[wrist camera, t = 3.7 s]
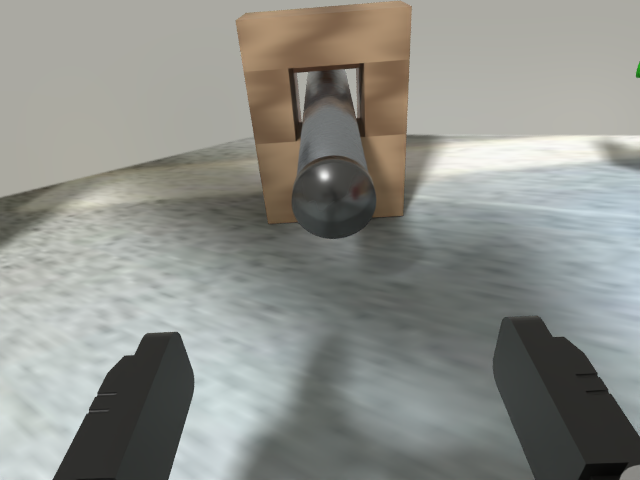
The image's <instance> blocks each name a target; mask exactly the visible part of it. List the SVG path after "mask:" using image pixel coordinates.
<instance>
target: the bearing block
mask: <svg viewBox="0 0 640 480" xmlns="http://www.w3.org/2000/svg"><path fill="white" fill-rule="evenodd" d="M411 10H412V6H410V5H408V4H406V3H404V2H402V1H391V2H379V3H367V4H353V5H341V6H329V7H317V8H304V9H291V10H279V11H267V12H254V13H245V14H244V15H242V16H241V17H240V18H238V19H237V20H236V25H237V32H238V38H239V45H240V51H241V57H242V63H243V69H244V76H245V82H246V88H247V95H248V101H249V107H250V113H251V120H252V126H253V132H254V139H255V145H256V151H257V157H258V164H259V170H260V176H261V182H262V189H263V195H264V201H265V207H266V214H267V220H268V224H275V223H291V222H298V221H297V220H296V218H295V216H294V213H293V210H292V203H291V200H292V191H293V185H294V181H295V179H296V177H297V168H298V159H299V149H300V140H301V131H302V122H298V114H297V104H296V94H295V84H294V74H293V68H302V67H316V66H329V65H343V64H356V63H359V67H360V118H356V120H357V125H358V129H359V133H360V138H361V142H362V147H363V151H364V156H365V160H366V164H367V169H368V173H369V174H370V176H371V178H372V181H373V184H374V188H375V193H376V200H377V201H376V208H375V212H374V214H373V216H372V218H374V217H390V216H403V204H404V180H405V156H406V131H407V107H408V82H409V57H410V35H411V34H410V33H411Z"/></svg>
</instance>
